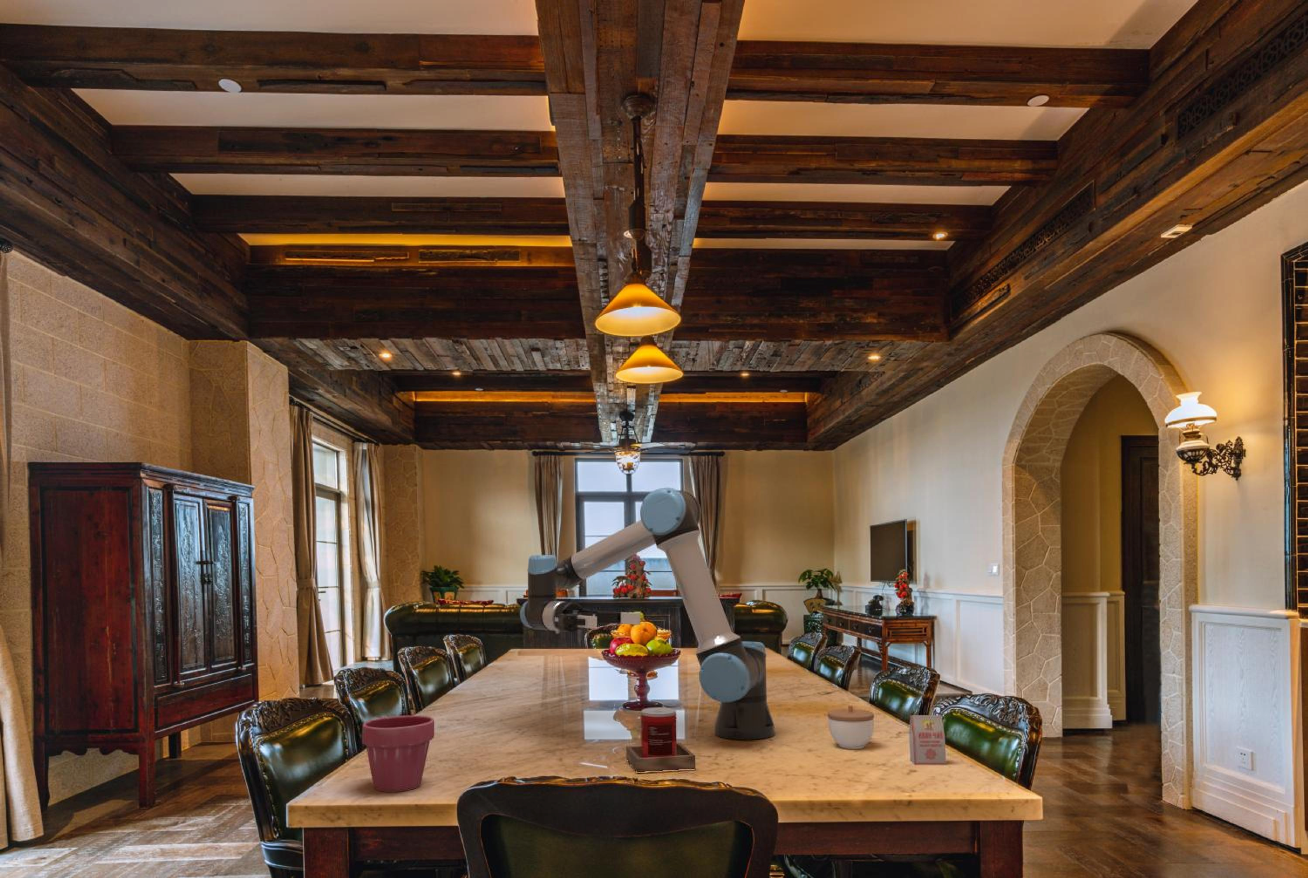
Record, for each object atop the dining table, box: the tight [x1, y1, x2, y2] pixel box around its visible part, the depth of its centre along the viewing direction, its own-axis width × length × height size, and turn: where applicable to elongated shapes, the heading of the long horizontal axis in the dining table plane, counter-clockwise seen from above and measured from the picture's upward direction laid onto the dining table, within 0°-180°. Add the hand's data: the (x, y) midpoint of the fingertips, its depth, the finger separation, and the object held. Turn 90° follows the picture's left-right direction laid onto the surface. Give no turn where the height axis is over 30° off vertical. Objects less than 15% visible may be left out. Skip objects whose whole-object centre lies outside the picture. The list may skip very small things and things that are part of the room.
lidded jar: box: [827, 704, 875, 750], centre depth 209 cm, size 11×11×9 cm
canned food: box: [640, 706, 678, 758], centre depth 193 cm, size 8×8×11 cm
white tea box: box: [908, 714, 947, 766], centre depth 193 cm, size 4×7×10 cm, turn 87°
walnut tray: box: [625, 742, 696, 772], centre depth 193 cm, size 13×13×3 cm
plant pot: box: [361, 715, 435, 793], centre depth 178 cm, size 14×14×13 cm
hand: (618, 620), depth 209 cm, fingers open, 13 cm apart
